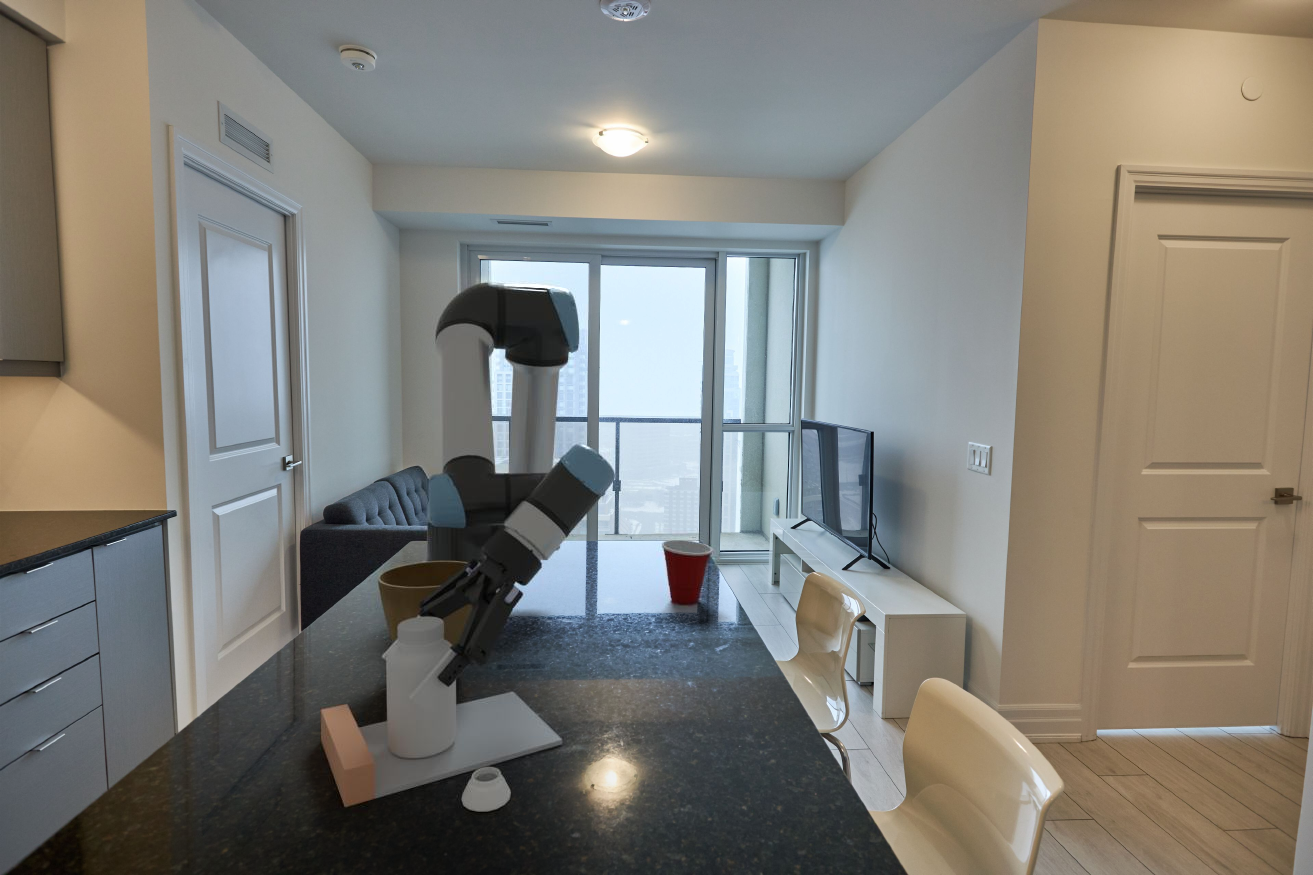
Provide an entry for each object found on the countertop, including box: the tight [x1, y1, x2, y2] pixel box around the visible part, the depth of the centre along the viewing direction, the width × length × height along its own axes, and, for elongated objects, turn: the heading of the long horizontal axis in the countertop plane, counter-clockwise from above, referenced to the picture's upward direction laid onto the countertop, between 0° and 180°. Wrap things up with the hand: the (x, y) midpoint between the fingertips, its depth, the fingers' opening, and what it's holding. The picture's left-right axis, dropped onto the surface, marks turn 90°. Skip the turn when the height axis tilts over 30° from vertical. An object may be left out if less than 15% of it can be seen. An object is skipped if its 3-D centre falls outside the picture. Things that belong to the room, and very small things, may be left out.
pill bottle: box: [385, 617, 457, 758], centre depth 84 cm, size 8×8×15 cm
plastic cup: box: [661, 539, 714, 606], centre depth 146 cm, size 11×11×12 cm
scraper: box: [320, 691, 563, 808], centre depth 86 cm, size 16×25×4 cm, turn 124°
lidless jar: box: [461, 766, 511, 812], centre depth 75 cm, size 5×3×5 cm
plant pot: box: [377, 561, 472, 646], centre depth 106 cm, size 15×15×16 cm
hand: (403, 682), depth 83 cm, fingers open, 13 cm apart
